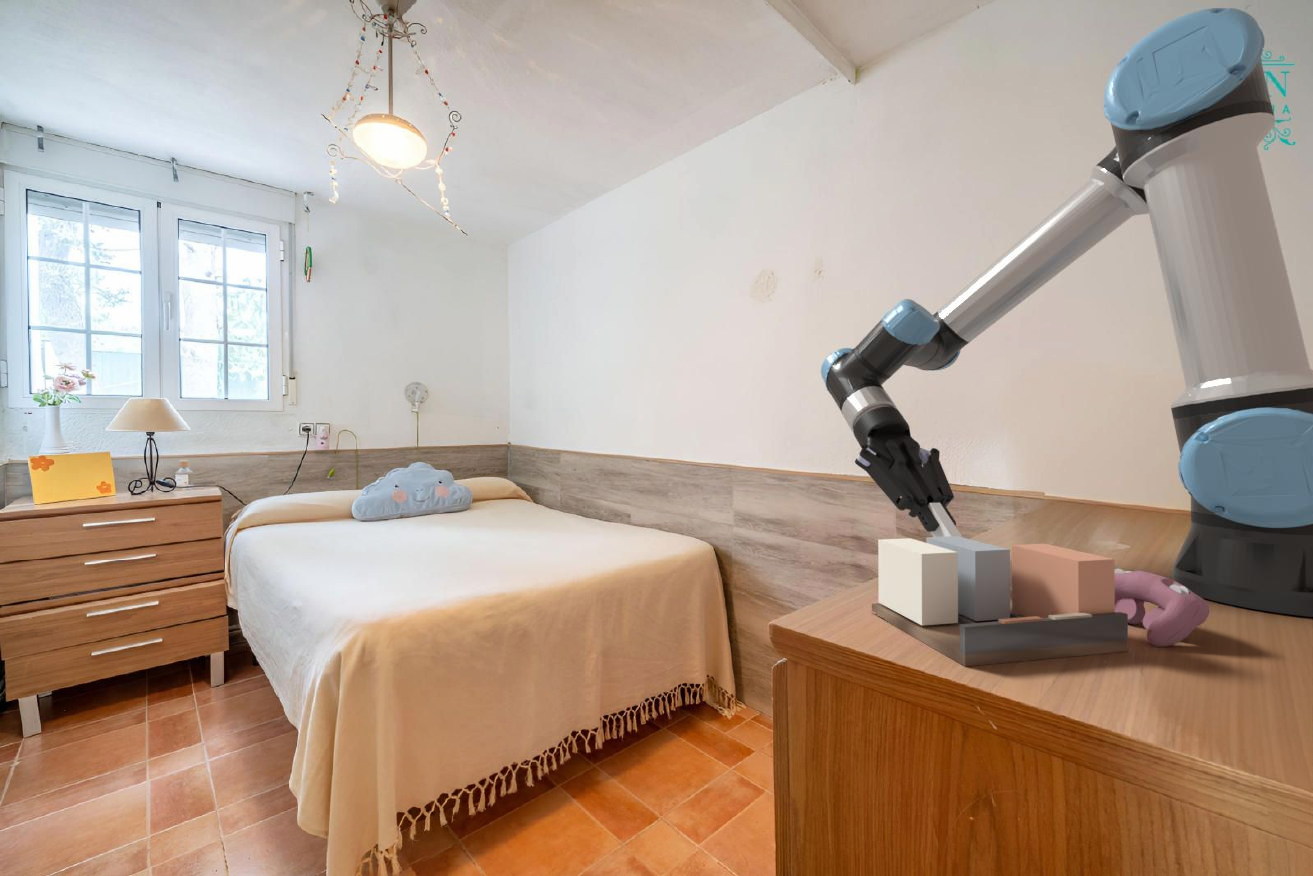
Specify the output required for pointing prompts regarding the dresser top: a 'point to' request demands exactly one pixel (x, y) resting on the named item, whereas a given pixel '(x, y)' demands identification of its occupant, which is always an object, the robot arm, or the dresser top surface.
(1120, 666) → the dresser top surface
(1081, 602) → the terracotta block
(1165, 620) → the video game controller
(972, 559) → the blue-grey block
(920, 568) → the cream white block
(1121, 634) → the tray
